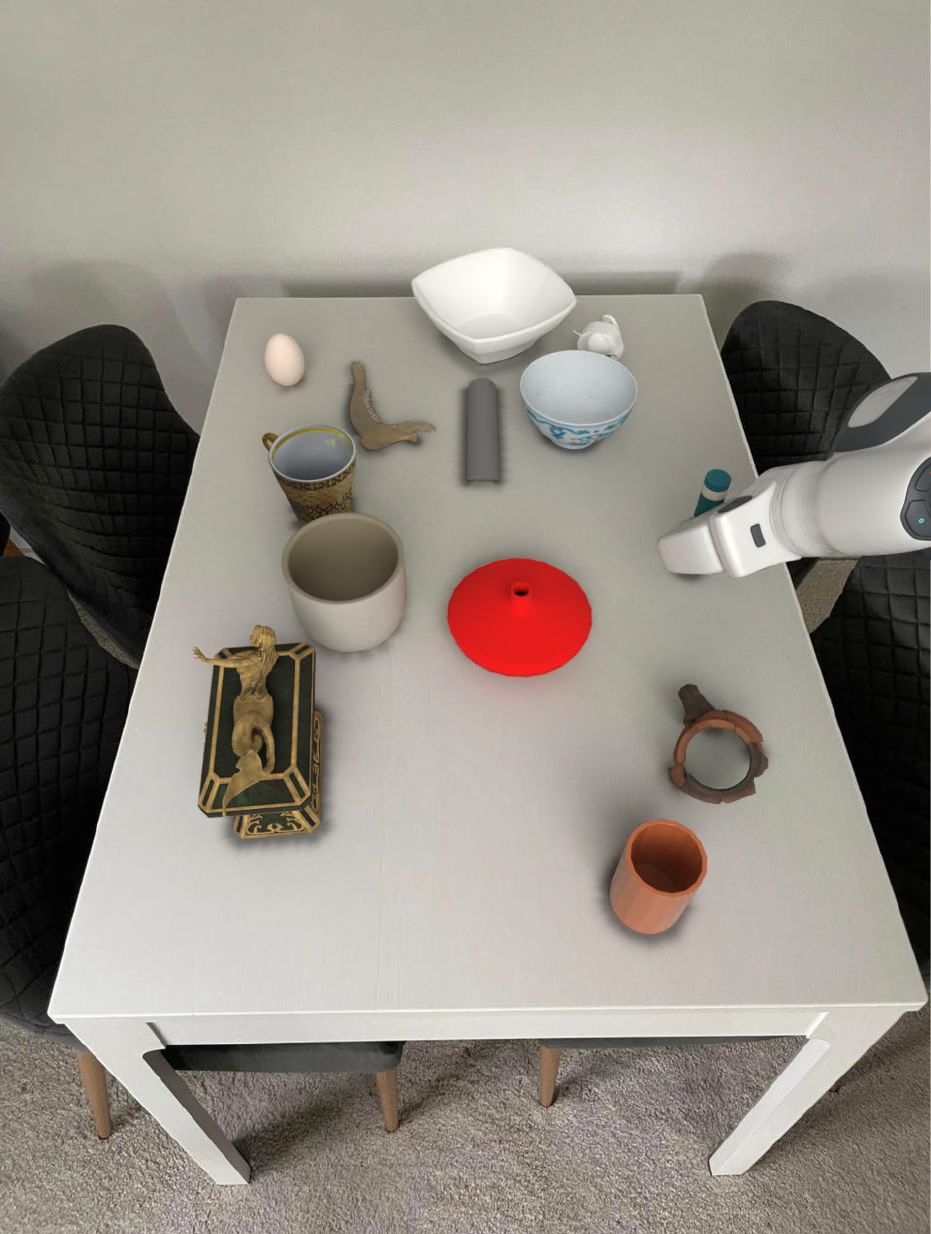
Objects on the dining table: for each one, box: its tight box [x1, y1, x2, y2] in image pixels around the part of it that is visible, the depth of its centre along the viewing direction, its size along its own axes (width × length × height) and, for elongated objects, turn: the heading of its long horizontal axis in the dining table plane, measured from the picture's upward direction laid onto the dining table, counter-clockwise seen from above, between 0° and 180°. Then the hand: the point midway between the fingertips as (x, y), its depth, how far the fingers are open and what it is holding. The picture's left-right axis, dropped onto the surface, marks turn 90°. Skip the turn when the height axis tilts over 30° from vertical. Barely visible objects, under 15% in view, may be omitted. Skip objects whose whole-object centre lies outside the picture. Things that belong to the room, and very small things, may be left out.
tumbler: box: [609, 818, 708, 935], centre depth 70 cm, size 6×6×10 cm
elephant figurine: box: [572, 314, 626, 361], centre depth 118 cm, size 7×8×6 cm
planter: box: [281, 511, 408, 653], centre depth 88 cm, size 12×12×11 cm
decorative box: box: [192, 623, 323, 840], centre depth 72 cm, size 20×10×20 cm, turn 5°
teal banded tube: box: [692, 468, 732, 517], centre depth 91 cm, size 3×3×14 cm
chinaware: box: [519, 349, 639, 450], centre depth 108 cm, size 15×15×8 cm
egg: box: [263, 332, 306, 387], centre depth 114 cm, size 6×6×8 cm
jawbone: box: [349, 360, 437, 451], centre depth 113 cm, size 9×20×2 cm, turn 37°
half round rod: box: [465, 377, 500, 482], centre depth 110 cm, size 4×20×2 cm, turn 179°
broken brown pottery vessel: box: [668, 683, 769, 805], centre depth 80 cm, size 12×10×8 cm
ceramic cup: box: [261, 422, 357, 526], centre depth 99 cm, size 13×10×10 cm
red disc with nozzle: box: [446, 557, 593, 678], centre depth 88 cm, size 16×16×7 cm
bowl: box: [410, 246, 578, 364], centre depth 119 cm, size 21×21×9 cm
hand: (699, 519), depth 91 cm, fingers closed on teal banded tube, 2 cm apart
